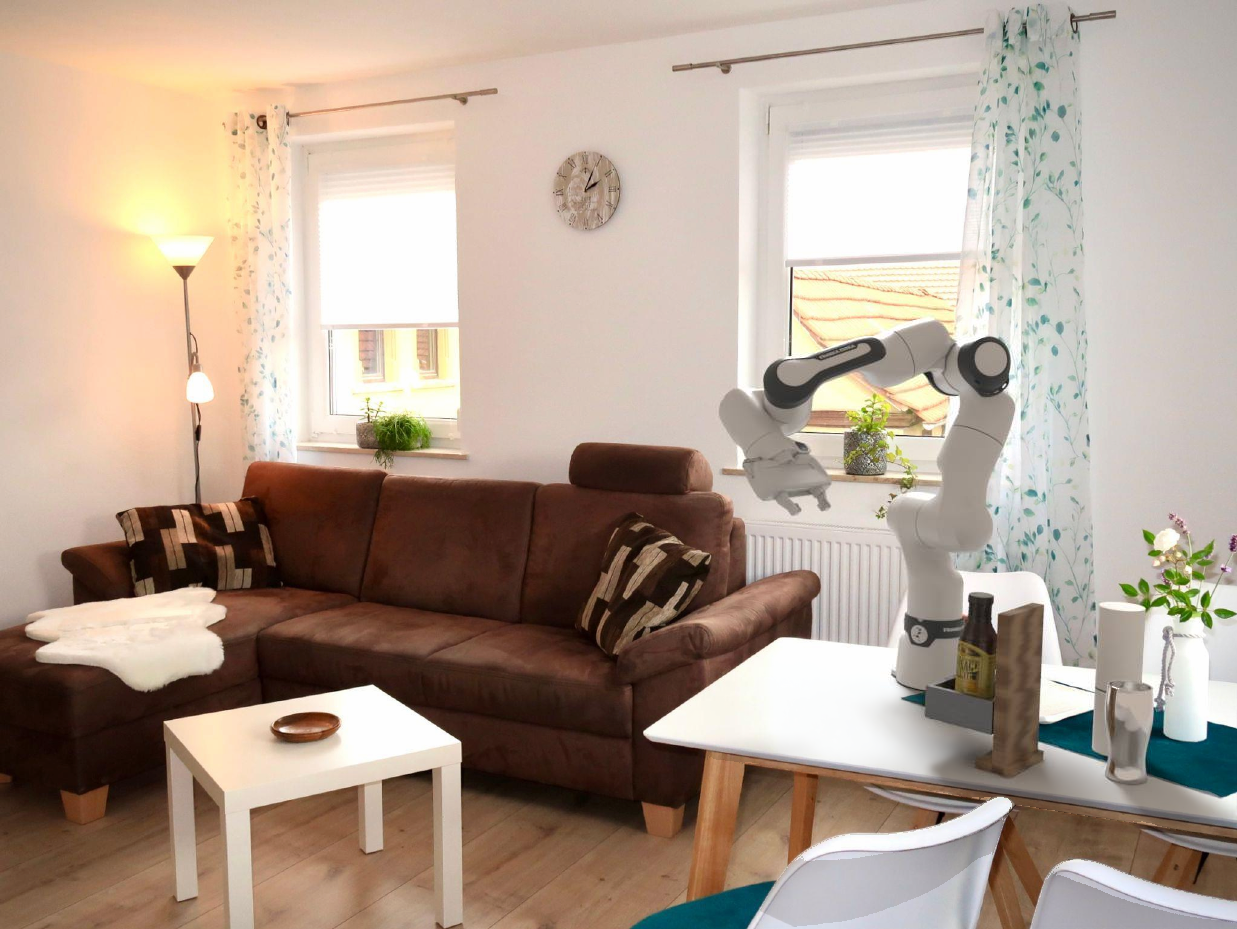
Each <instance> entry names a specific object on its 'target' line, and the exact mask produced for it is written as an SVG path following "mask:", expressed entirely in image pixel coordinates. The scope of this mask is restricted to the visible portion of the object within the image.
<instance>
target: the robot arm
mask: <svg viewBox="0 0 1237 929" xmlns="http://www.w3.org/2000/svg"><path fill="white" fill-rule="evenodd" d="M1011 364H1012V360H1011V353H1010V350H1009V348H1008V346H1007V345H1006V344H1005V342H1004V341H1002V340H1001V339H999V338H997V337H995V336H991V335H985V334H983V335H975V336H972V337H969V338H965V339H962V340H961V339H960V340H959V341H957V340H956V339H954V338H952V337H951V335H950V333H949V331H948V329H947V327H946V326H945V324H944V323H943V322H941V321H940V320H938V319H936V318H934V317H925V318H920V319H916V320H912V321H909V322H906V323H903V324H900V325H897V326H895V327H892V328H890V329H888V330H885V331H883V332H881V333H879V334H876V335H873V336H871V335H870V336H869V335H867V336H861V337H857V338H853V339H850V340H846V341H843V342H841V343H839V344H835V345H833V346H829V347H826V348H824V349H821V350H818V351H816V352H815V351H814V352H812V353H808V354H803V355H794V356H793V355H791V356H785V357H782V358H779V359H777V360H774V361H773V362H772V363H770V365H769V366H768V367H767V368H766V370H765V371H764V374H763V378H762V381H763V382H762V384H763V388H748V387H745V386H743V385H742V386H737V387H735V388H733V389H731V390H729V392H728V393H726V395H724V397H723V399H722V400H721V401H720V404H719V407H718V408H719V409H718V418H719V419H720V421H721V423H722V425H723V426H724V429H725V431H726V432H727V434H728V435H729V437H730V438H731V439H732V442H733V443H735V445H736V446H738V447H739V448H741V450H742V452H743V455H744V458H745V459H743V461H742V466H741V467H742V469H743V471H744V472H745V477H746V480H747V482H748V484H749V485H750V487H751V489H752V490H753V493H754V494H755V495H756V497H757V498H758V499H759V500H761V501H763V502H770V501H776V503H777V504H778V505H780V507H782V508H784V509H785V510H787V512H788V514H789V515H790V516H791V517H793V516H798V515H799V514H801V512H802V510H803V509H802V508H801V506H800V505H799V504H798V502H794V501H793V500H792V499H793V498H801V497H808V496H812V497H813V498H814V499H816V501H817V504H816V506H817V508H818V509H819V510H820V512H827V511H829V510H830V509H831V508H832V505H831V503H830V502H829V500H828V497H827V492H826V491H827V490H828V489H829V488H830V487H831V485H832V479H831V476H830V475H829V473H828V472H827V470H826V469H825V467H824V466H823V465H822V463H821V462H820V461H819V459H818V458H817V457H816V456H814V455H812V454H811V452H812V449H811V447H810V446H809V445H808V444H807V443H804V442H802V441H798V440H795V439H793V438H790V437H789V436H792V435H794V434H797V433H799V432H801V431H802V430H803V429H805V428H806V427H807V425H808V423H809V422H810V419H811V415H812V409H813V401H814V396H815V394H816V392H817V391H818V389H820V387H822V385H824V384H826V383H829V382H832V381H834V380H836V379H837V380H838V379H839V378H840V379H841V378H842V377H846V376H848V375H851V374H854V373H859V374H860V375H861V376H862V378H863V379H864V380H865V381H866V382H867V383H869V384H870V385H871V386H874V387H876V388H878V389H879V388H880V389H887V388H891V387H895V386H899V385H901V384H904V383H906V382H907V381H909V380H911V379H913V378H915V377H917V376H920V375H924V377H925V378H926V380H927V381H928V383H929V385H930V387H932V389H934V390H935V391H936V392H937V393H939V394H941V395H944V396H947V397H948V396H949V397H959V407H958V414H956V417H955V419H954V421H953V423H952V425H951V427H950V430H949V431H948V433H947V435H946V438H945V440H944V442H943V443H942V446H941V447H940V450H939V452H938V455H937V457H936V466H937V468H938V470H939V472H940V473H941V480H940V481H941V483H940V488H939V490H938V492H937V494H936V493H930V492H924V491H914V492H913V491H911V492H906V493H900V494H898V495H897V496H895V497H894V498H893V499H892V500H891V502H890V503H889V504H888V506H887V510H886V516H885V518H886V523H887V527H888V529H889V530H890V532H891V533H892V534H893V536H894V537H895V539H896V541H897V544H898V547H899V548H900V552H901V556H902V558H903V562H904V563H903V564H904V567H905V572H906V582H907V583H906V592H907V593H906V611H905V612H904V617H903V630H904V633H903V634H902V635H900V636H899V639H898V647H897V655H896V665H895V667H892V668H891V670H890V671H891V672H890V673H891V675H893V676H894V677H895V678H896V681H897V682H898V683H900V684H901V685H904V686H906V687H909V688H913V689H916V690H917V689H918V690H922V691H926V685H928V684H931V683H934V682H936V681H939V680H941V679H944V678H947V677H949V676H952V675H955V674H956V667H957V654H958V640H959V638H960V635H961V633H962V630H963V628H964V625H965V623H966V620H967V618H968V614H964V613H963V611H964V610H963V609H964V579H963V576H962V574H961V572H959V570H958V569H957V568H956V566H955V564H954V562H953V560H952V557H951V554H950V553H952V554H970V553H972V554H973V553H977V552H979V551H980V552H981V551H982V550H983V549H984V548H986V546H987V545H988V544H989V542H990V540H991V538H992V536H993V531H994V522H993V518H992V515H991V514H990V512H989V510H988V508H987V507H988V506H987V494H988V491H987V490H988V487H989V483H990V479H991V477H992V474H993V472H994V469H995V467H996V464H997V462H998V460H999V457H1000V456H1001V454H1002V451H1003V448H1004V447H1005V445H1006V442H1007V440H1008V437H1009V435H1010V431H1011V428H1012V425H1013V421H1014V418H1015V413H1016V403H1015V401H1014V399H1013V398H1012V396H1011V395H1010V394H1009V393H1007V392H1006V391H1005V390H1006V389H1007V387H1008V386H1009V385H1010V375H1009V374H1010V371H1011Z"/></svg>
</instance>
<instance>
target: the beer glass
mask: <svg viewBox="0 0 1237 929" xmlns="http://www.w3.org/2000/svg"><path fill="white" fill-rule="evenodd" d="M1154 707H1155V706H1154V687H1153V686H1152V685H1150V684H1148V683H1145V682H1143V681H1142V682H1138V681H1132V680H1111V681H1109V682H1108V683H1107V692H1106V699H1105V725H1106V733H1107V739H1108V749H1109V754H1108V756H1107V761H1106V765H1105V770H1104V775H1105V776H1106V779H1109V780H1111V781H1114V782H1116V783H1120V784H1126V785H1133V786H1134V785H1137V786H1138V785H1144V784H1145V783H1147V781H1148V774H1147V768H1146V754H1147V749H1148V744H1149V742H1150V737H1151V733H1152V730H1153V729H1152V727H1153V723H1154Z"/></svg>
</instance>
